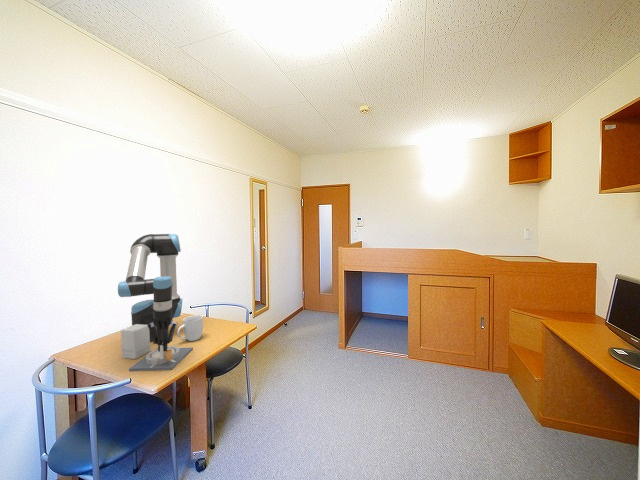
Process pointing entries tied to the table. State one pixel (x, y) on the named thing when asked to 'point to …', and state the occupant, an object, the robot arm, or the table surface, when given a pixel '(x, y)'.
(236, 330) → the table surface
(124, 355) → the supplement box
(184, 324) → the mug
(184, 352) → the panel
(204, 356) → the table surface
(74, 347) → the table surface
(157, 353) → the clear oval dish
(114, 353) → the table surface
